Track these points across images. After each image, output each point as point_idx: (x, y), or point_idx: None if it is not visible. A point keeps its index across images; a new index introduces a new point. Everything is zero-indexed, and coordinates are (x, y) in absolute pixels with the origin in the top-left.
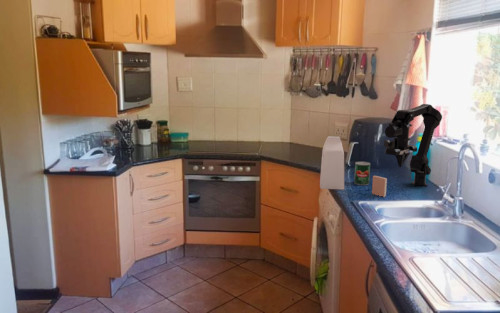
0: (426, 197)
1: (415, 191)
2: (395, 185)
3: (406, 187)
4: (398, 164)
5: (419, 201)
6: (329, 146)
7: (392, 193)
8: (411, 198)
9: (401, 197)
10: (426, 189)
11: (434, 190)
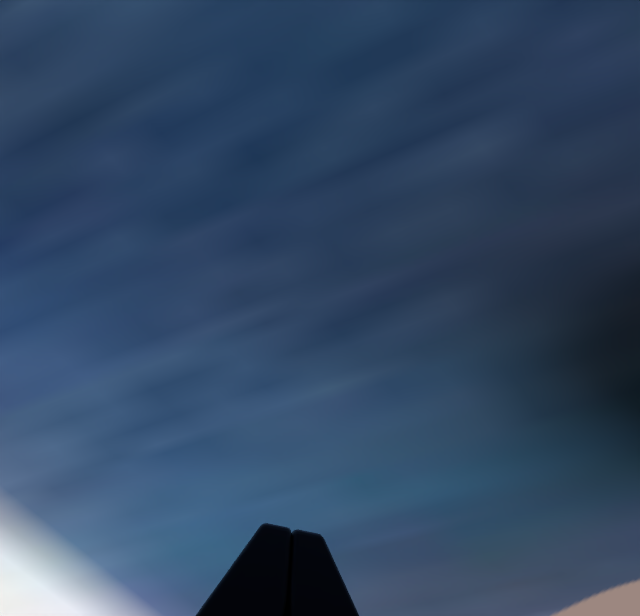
0: None
1: (391, 461)
2: (553, 141)
3: (524, 316)
4: (220, 584)
5: (44, 593)
6: None
7: (92, 283)
8: (77, 513)
9: (23, 427)
10: (565, 524)
11: (569, 591)
